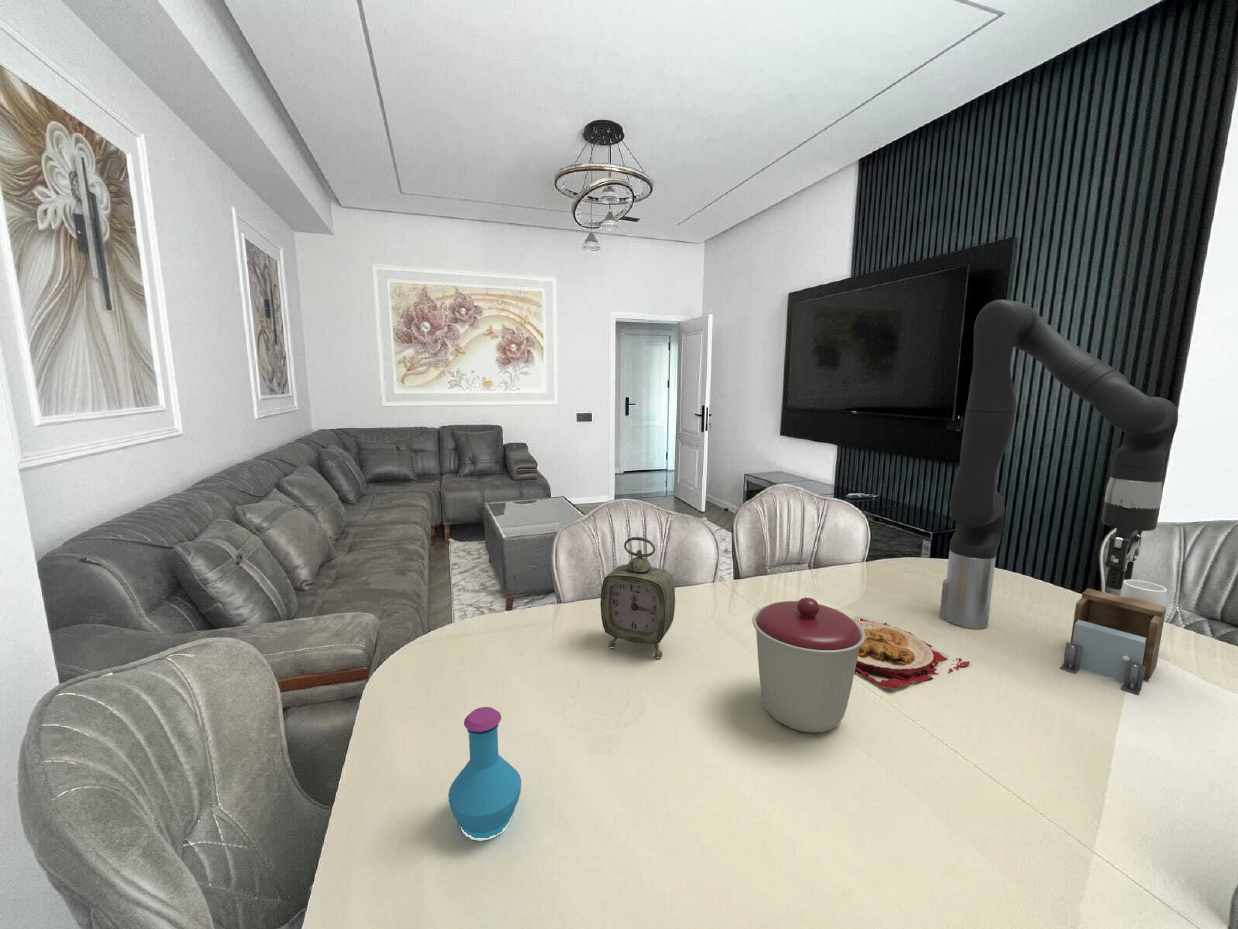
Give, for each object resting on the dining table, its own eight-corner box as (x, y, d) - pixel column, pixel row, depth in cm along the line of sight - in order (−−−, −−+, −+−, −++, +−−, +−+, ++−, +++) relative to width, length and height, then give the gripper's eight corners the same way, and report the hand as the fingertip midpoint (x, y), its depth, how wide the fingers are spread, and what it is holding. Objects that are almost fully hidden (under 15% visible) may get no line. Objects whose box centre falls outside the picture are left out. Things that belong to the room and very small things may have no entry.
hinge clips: (1060, 669, 105) (1063, 645, 104) (1063, 664, 107) (1067, 641, 106) (1138, 695, 96) (1142, 670, 95) (1141, 690, 98) (1145, 665, 97)
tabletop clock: (600, 650, 112) (600, 538, 108) (616, 632, 120) (616, 528, 116) (664, 664, 106) (666, 547, 103) (676, 644, 115) (679, 535, 111)
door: (1067, 666, 106) (1073, 625, 105) (1072, 660, 108) (1078, 619, 107) (1135, 688, 98) (1143, 644, 97) (1139, 681, 101) (1146, 638, 99)
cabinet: (1068, 656, 110) (1076, 598, 108) (1079, 643, 115) (1087, 588, 113) (1148, 681, 100) (1158, 618, 98) (1156, 666, 106) (1166, 606, 104)
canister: (853, 694, 96) (861, 586, 93) (864, 760, 79) (875, 630, 76) (752, 676, 102) (757, 574, 99) (743, 734, 85) (748, 613, 82)
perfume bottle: (458, 794, 72) (453, 695, 70) (525, 790, 73) (522, 692, 71) (441, 853, 63) (435, 741, 61) (518, 847, 64) (515, 737, 62)
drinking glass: (1165, 660, 108) (1177, 592, 106) (1127, 657, 110) (1138, 589, 107) (1140, 645, 115) (1151, 580, 113) (1105, 641, 116) (1114, 578, 114)
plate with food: (888, 698, 96) (891, 681, 95) (787, 634, 120) (788, 619, 119) (971, 670, 106) (973, 654, 106) (863, 616, 130) (864, 603, 129)
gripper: (1113, 494, 106) (1101, 570, 108) (1096, 503, 97) (1083, 585, 100) (1166, 501, 100) (1152, 581, 102) (1152, 511, 91) (1138, 598, 94)
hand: (1118, 583), depth 101 cm, fingers open, 8 cm apart
